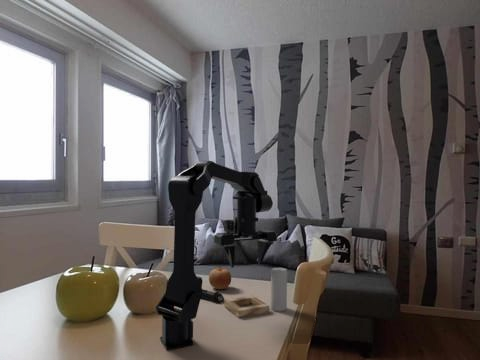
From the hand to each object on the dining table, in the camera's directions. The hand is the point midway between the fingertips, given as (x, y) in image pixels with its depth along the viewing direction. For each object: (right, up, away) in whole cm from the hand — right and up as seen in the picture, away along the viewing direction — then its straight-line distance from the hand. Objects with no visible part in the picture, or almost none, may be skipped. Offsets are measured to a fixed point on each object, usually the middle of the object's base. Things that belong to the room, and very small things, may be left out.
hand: (246, 265), depth 108 cm
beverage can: (+10, -13, 0) cm, 17 cm away
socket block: (0, -13, 0) cm, 13 cm away
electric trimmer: (-14, -13, +10) cm, 22 cm away
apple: (-9, -13, +20) cm, 25 cm away
